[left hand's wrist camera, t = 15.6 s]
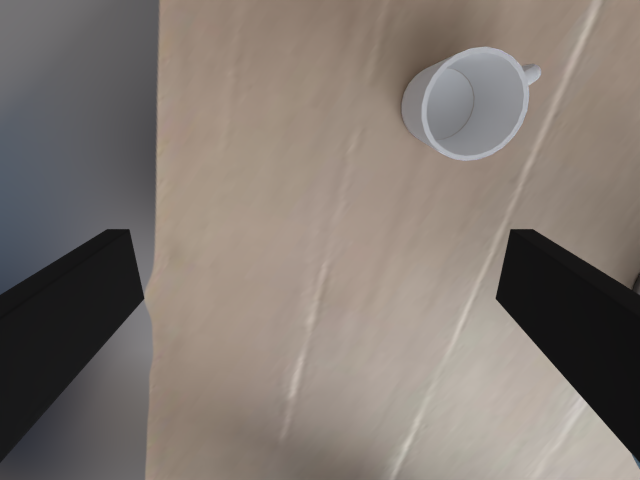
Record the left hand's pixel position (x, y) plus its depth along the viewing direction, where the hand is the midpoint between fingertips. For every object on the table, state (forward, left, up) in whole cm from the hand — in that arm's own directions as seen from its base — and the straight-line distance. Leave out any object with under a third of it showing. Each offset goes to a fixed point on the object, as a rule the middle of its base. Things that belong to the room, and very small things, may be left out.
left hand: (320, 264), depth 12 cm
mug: (-12, +9, -31) cm, 34 cm away
